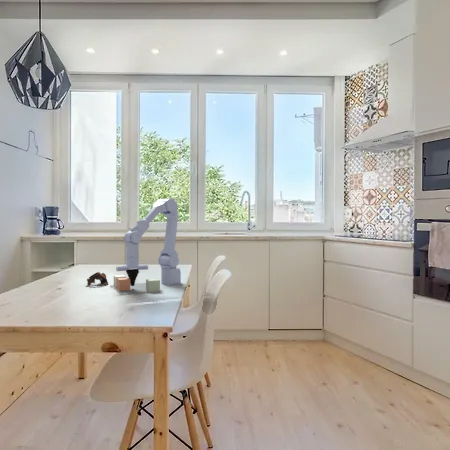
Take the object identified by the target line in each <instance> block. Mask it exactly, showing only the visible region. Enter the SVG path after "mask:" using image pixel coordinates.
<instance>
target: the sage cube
mask: <svg viewBox="0 0 450 450" xmlns="http://www.w3.org/2000/svg"><path fill="white" fill-rule="evenodd" d="M145 283H146V290H147V291H148V292H154V293H158V292H157V291H160V289H161V280H160V279H159V278H149V279H148V278H147V279H145Z"/></svg>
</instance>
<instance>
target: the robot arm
mask: <svg viewBox="0 0 450 450" xmlns="http://www.w3.org/2000/svg"><path fill="white" fill-rule="evenodd" d="M159 214H163V215H164V216H165V217H166V224H165V226H166V227H165V234H164V235H165V236H164V245H163V246H164V247H163V249H162V250H161V251H160V255H159V257H158V264H159V266H160V268H161V269H160V271H161V275H160V276H161V280H160V285H166V286H167V285H177V284H181V282H182V281H181V280H182V276H181V274H182V273H181V269H180V267H177V266H178V265H179V262H180V261H179V260H180V259H179V253H178V251H177V250H176V239H177V231H178V221H179V213H178V203H177V201H176V200H175V199H174V198H172V197H171V198H159V199H157V200H156V201H155V202H154V203H153V206H152V207H151V209H150V210H149V211H148V212H147V214H146V216H145V217H144V218H143V219H142V218H141V219H139V220H136V223H135V225H134V226H132V227H131V228H130V230H128V231H127V232H125V234H124V236H123V242H125V254H126V255H125V258H126V259H125V265H123V266H120V265H119V266H116V269H115V270H116V272H126V276H127V278H129V279H130V284H131V286H134V284H136V280H137V277H138V275H139V273H140V271H141V270H144V271H145V270H149V265H148V264H142V265H141V264H140V265H139V262H140V260H139V259H140V258H139V257H140V254H139V253H140V250H139V248H140V246H139V245H140V242H141V241H142V238H143V235H144V234H145V233H146V232H147V230H149V228H150V223H152V222H153V221H154V219H155V218H156V217H157V216H158V215H159Z"/></svg>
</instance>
